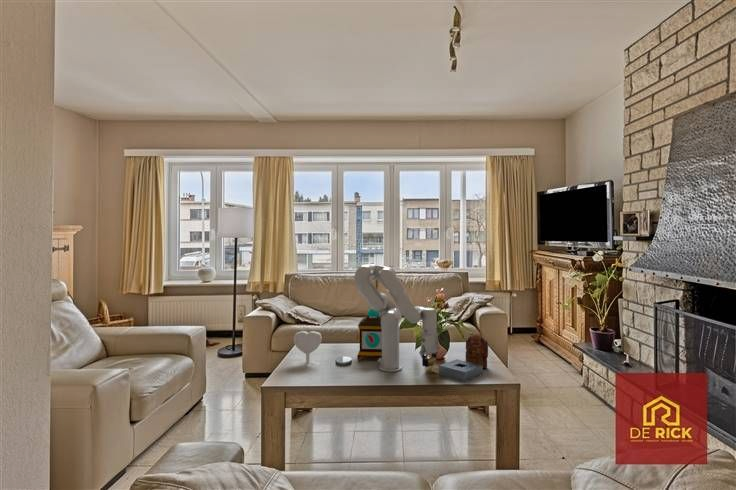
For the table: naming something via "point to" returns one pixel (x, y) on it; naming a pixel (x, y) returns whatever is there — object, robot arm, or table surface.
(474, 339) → the wooden figurine
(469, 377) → the block
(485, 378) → the table surface
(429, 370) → the bushing
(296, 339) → the heart sculpture
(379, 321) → the decorative lantern
